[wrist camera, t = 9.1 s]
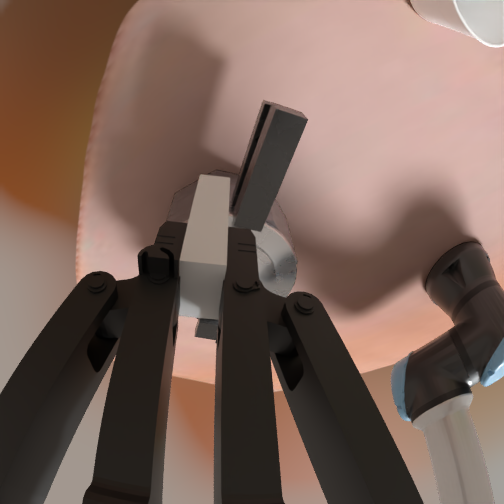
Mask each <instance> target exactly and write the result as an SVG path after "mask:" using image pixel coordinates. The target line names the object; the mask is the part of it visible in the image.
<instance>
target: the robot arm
mask: <svg viewBox="0 0 504 504" xmlns="http://www.w3.org/2000/svg"><path fill="white" fill-rule="evenodd" d="M229 194H230V178H228V177H220V176H211V175H202V174H200V177H199V180H198V184H197V188H196V192H195V196H194V200H193V204H192V208H191V212H190V216H189V221H188V223H183V222H174V221H166V222H165V223H164V224H163V225H162V226H161V227H160V229H159V232H158V234H157V237H156V240H155V243H154V245H151V246H148V247H146V248H144V249H142V250H141V251H140V252H139V254H138V266H139V275H138V276H137V277H134V278H131V279H127V280H119V281H116V280H115V278H114V277H113V276H112V275H111V274H109V273H107V272H103V271H97V272H92V273H90V274H87V275H86V276H85V277H84V278H82V279H81V281H80V282H79V283H78V284H77V286H76V287H75V288H74V289H73V290H72V292H71V293H70V294H69V296H68V297H67V298H66V299H65V301H64V302H63V303H62V305H61V306H60V307H59V308H58V310H57V311H56V312H55V314H54V315H53V316H52V318H51V319H50V321H49V322H48V323H47V324H46V326H45V327H44V329H43V330H42V331H41V333H40V334H39V336H38V337H37V338H36V340H35V341H34V343H33V344H32V346H31V347H30V348H29V350H28V351H27V353H26V354H25V356H24V357H23V359H22V360H21V362H20V363H19V365H18V367H17V368H16V370H15V371H14V373H13V374H12V376H11V377H10V379H9V381H8V383H7V384H6V386H5V387H4V389H3V391H2V392H1V394H0V504H43V503H44V501H45V499H46V497H47V494H48V492H49V490H50V487H51V485H52V483H53V480H54V478H55V476H56V473H57V471H58V469H59V466H60V464H61V462H62V460H63V457H64V456H65V453H66V451H67V449H68V447H69V445H70V443H71V440H72V438H73V436H74V434H75V432H76V430H77V428H78V426H79V424H80V422H81V420H82V418H83V416H84V414H85V412H86V410H87V408H88V406H89V404H90V402H91V400H92V398H93V396H94V394H95V392H96V391H97V389H98V387H99V385H100V383H101V381H102V379H103V377H104V375H105V374H106V372H107V370H108V368H109V366H110V364H111V362H112V361H113V359H114V357H115V355H116V357H115V361H114V366H113V370H112V374H111V378H110V383H109V388H108V392H107V397H106V402H105V406H104V412H103V417H102V423H101V428H100V433H99V440H98V446H97V453H96V459H95V466H94V474H93V480H92V483H91V485H90V486H89V487H88V489H87V490H86V492H85V495H84V497H83V503H82V504H162V491H163V490H162V489H163V471H164V456H165V441H166V429H167V418H168V406H169V397H170V388H171V379H172V370H173V362H174V354H175V346H176V339H177V332H178V315H179V316H186V317H195V318H205V319H216V320H219V322H218V329H217V336H216V343H217V348H216V377H215V417H214V504H285V503H284V501H283V497H282V489H281V476H280V463H279V451H278V441H277V440H278V439H277V428H276V416H275V405H274V393H273V382H272V370H271V360H272V362H273V365H274V368H275V370H276V373H277V376H278V378H279V381H280V384H281V386H282V389H283V391H284V394H285V397H286V399H287V402H288V404H289V407H290V410H291V412H292V415H293V417H294V420H295V422H296V425H297V428H298V430H299V433H300V435H301V438H302V440H303V443H304V445H305V448H306V450H307V453H308V455H309V458H310V461H311V463H312V465H313V468H314V471H315V473H316V475H317V478H318V480H319V483H320V485H321V488H322V490H323V493H324V495H325V498H326V500H327V503H328V504H423V501H422V499H421V497H420V494H419V492H418V490H417V488H416V486H415V484H414V481H413V479H412V477H411V475H410V473H409V471H408V469H407V467H406V464H405V462H404V460H403V458H402V456H401V454H400V452H399V450H398V448H397V446H396V444H395V442H394V440H393V438H392V436H391V434H390V432H389V430H388V428H387V426H386V424H385V422H384V420H383V418H382V416H381V414H380V412H379V410H378V408H377V406H376V404H375V402H374V400H373V398H372V396H371V394H370V392H369V390H368V388H367V386H366V385H365V383H364V381H363V379H362V377H361V375H360V373H359V371H358V369H357V367H356V365H355V364H354V362H353V360H352V358H351V356H350V354H349V352H348V350H347V349H346V347H345V345H344V343H343V341H342V339H341V337H340V336H339V334H338V332H337V330H336V328H335V326H334V325H333V323H332V321H331V319H330V317H329V316H328V314H327V312H326V310H325V308H324V306H323V305H322V303H321V302H320V301H319V299H318V298H316V297H315V296H313V295H312V294H309V293H306V292H294V293H291V294H290V295H289V296H287V298H285V297H282V296H279V295H276V294H274V293H272V292H270V291H269V290H267V289H266V288H265V287H264V286H263V284H262V282H261V281H260V279H259V271H258V260H257V249H256V237H255V236H254V234H253V233H252V231H251V230H250V229H244V228H236V227H228V217H229ZM426 291H427V293H428V295H429V297H430V299H431V300H432V301H433V303H435V304H436V305H438V306H439V307H440V308H441V309H442V310H443V311H444V312H445V313H446V314H447V315H449V316H450V318H451V319H452V321H453V323H454V325H455V326H454V327H453V328H451V329H450V330H448V331H447V332H445V333H443V334H442V335H440V336H439V337H437V338H436V339H434V340H432V341H431V342H429V343H427V344H426V345H424V346H422V347H421V348H419V349H417V350H416V351H412V352H410V353H409V355H408V356H406V357H405V358H403V359H401V360H400V361H398V362H397V363H396V364H395V365H394V367H393V370H392V372H391V387H392V394H393V399H394V402H395V405H396V406H397V410H398V413H399V415H400V417H401V418H402V419H403V420H405V421H411V422H412V425H413V427H414V428H417V429H419V430H422V431H423V432H424V436H425V439H426V443H427V447H428V451H429V455H430V458H431V462H432V467H433V471H434V475H435V480H436V485H437V489H438V494H439V500H440V504H495V502H494V497H493V492H492V488H491V483H490V479H489V475H488V471H487V467H486V463H485V459H484V456H483V452H482V449H481V446H480V442H479V439H478V436H477V432H476V429H475V427H474V423H473V420H472V417H471V414H470V411H469V406H470V404H471V402H472V399H473V394H472V391H471V389H470V388H471V387H472V386H473V385H475V384H477V383H478V382H481V384H482V385H483V386H485V387H486V386H489V385H491V384H492V383H494V382H496V381H497V380H499V379H500V378H501V377H503V376H504V290H503V289H502V288H501V286H500V285H499V283H498V282H497V280H496V278H495V275H494V271H493V269H492V266H491V264H490V259H489V256H488V254H487V252H486V251H485V250H484V249H483V247H482V246H481V245H480V244H478V243H476V242H467V243H463V244H460V245H458V246H456V247H454V248H453V249H451V250H450V251H448V252H447V253H446V254H445V255H444V256H443V257H441V258H440V260H439V261H438V262H437V263H436V264H435V265H434V267H433V268H432V270H431V272H430V273H429V275H428V278H427V281H426ZM270 357H271V359H270Z"/></svg>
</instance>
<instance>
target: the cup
mask: <svg viewBox="0 0 504 504" xmlns="http://www.w3.org/2000/svg"><path fill="white" fill-rule="evenodd" d="M410 2H411V4H412V6H413V8H414V10H415V11H416V12H417V14H418V15H419V16H421V17H422V18H423V19H425V20H426V21H428V22H431V23H434V24H437V25H440V26H444V27H447V28H449V29H452V30H455V31H458V32H460V33H463V34H465V35H468V36H470V37H473V38H475V39H477V40H478V41H480V42H481V43H483V44H484V45H487V46H490V47H502V46H504V0H410Z"/></svg>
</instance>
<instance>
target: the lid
mask: <svg viewBox="0 0 504 504" xmlns="http://www.w3.org/2000/svg"><path fill="white" fill-rule="evenodd" d="M307 121H308V119H307V118H306V117H305V115H304V114H303V113H302V112H299V111H296V110H294V109H291V108H288V107H285V106H282V105H279V104H276V103H272V104H271V107H270V110H269V113H268V115H267V118H266V121H265V123H264V126H263V129H262V132H261V134H260V137H259V140H258V143H257V145H256V148H255V151H254V154H253V157H252V159H251V162H250V165H249V168H248V171H247V173H246V176H245V179H244V182H243V185H242V188H241V191H240V194H239V196H238V199H237V202H236V205H235V208H234V211H233V212H229V217H228V227H236V228H244V229H250V230H251V231H252V233H253V234H254V236H255V237H256V249H257V260H258V271H259V279H260V281H261V282H262V284H263V286H264V287H265V288H266V289H267V290H269V291H270V292H272V293H274V294H276V295H279V296H282V297H285V298H286V297H287V296H288V294H289V293H290V291H291V289H292V287H293V285H294V283H295V279H296V273H297V267H296V261H295V257H294V253H293V250H292V248H291V245H290V243H289V242H288V240H287V239H286V237H285V236H284V235H283V234H282V233H281V232H280V231H279V230H278V229H276V228H275V227H274V226H272V225H271V224H269V223H268V222H266V219H267V217H268V215H269V212H270V210H271V207H272V205H273V203H274V200H275V198H276V195H277V193H278V191H279V188H280V186H281V183H282V181H283V179H284V176H285V174H286V171H287V169H288V167H289V164H290V162H291V159H292V157H293V155H294V152H295V150H296V147H297V145H298V143H299V140H300V138H301V135H302V133H303V131H304V128H305V126H306V123H307ZM188 221H189V219H188V220H186V221H184V222H183V223H188ZM218 322H219V320H216V319H205V318H199V319H198V322H197V325H196V328H195V337H200V338H206V339H212V340H216V336H217V329H218Z"/></svg>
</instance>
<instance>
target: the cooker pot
mask: <svg viewBox="0 0 504 504" xmlns="http://www.w3.org/2000/svg"><path fill="white" fill-rule="evenodd" d="M271 104H272V103H271V102H268V101H265V100H263V102H262V105H261V108H260V111H259V114H258V117H257V120H256V123H255V126H254V129H253V132H252V135H251V138H250V141H249V144H248V147H247V151H246V154H245V157H244V160H243V163H242V166H241V169H240V173H239V175H237V174H233V173H228V172H224V171H219V170H215V171H213V172H212V173H210V174H208V175H211V176H220V177H228V178H230V194H229V212H233V211H234V208H235V205H236V202H237V199H238V196H239V194H240V191H241V188H242V185H243V182H244V179H245V176H246V173H247V171H248V168H249V165H250V162H251V159H252V157H253V154H254V151H255V148H256V145H257V143H258V140H259V137H260V134H261V132H262V129H263V126H264V123H265V121H266V118H267V115H268V113H269V110H270V107H271ZM197 184H198V180H197V181H195V182H194V183H192V184H190V185H188V186H187V187H185V188H183V189H182V190H180V191H178V192H176V193H175V195H174V198H173V201H172V205H171V208H170V211H169V214H168V217H167V221H174V222H184V221H186V220H188V219H189V216H190V212H191V208H192V204H193V200H194V196H195V192H196V188H197ZM266 222H268V223H269V224H271V225H272V226H274V227H275V228H276V229H278V230H279V231H280V232H281V233H282V234H283V235H284V236H285V237H286V239H287V240H288V242H289V243H290V245H291V248H292V250H293V253H294V257H295V261H296V264H297V262H298V261H297V257H296V253H295V249H294V246H293V242H292V238H291V234H290V230H289V227H288V223H287V219H286V217H285V215H284V213H283V211H282V210H281V208H280V206H279V204H278V203H277V201H276V199H275V200H274V203H273V205H272V207H271V210H270V212H269V215H268V217H267V219H266ZM197 319H199V318H197Z"/></svg>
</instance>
